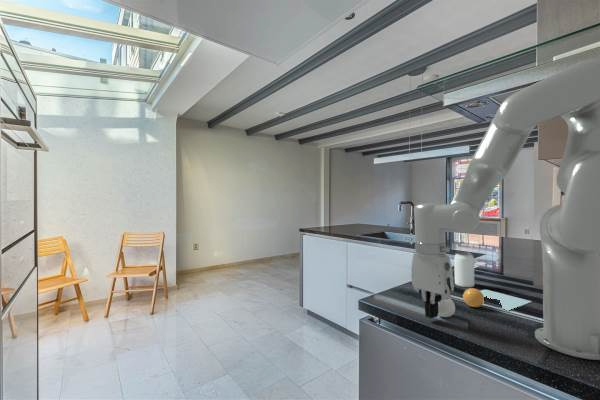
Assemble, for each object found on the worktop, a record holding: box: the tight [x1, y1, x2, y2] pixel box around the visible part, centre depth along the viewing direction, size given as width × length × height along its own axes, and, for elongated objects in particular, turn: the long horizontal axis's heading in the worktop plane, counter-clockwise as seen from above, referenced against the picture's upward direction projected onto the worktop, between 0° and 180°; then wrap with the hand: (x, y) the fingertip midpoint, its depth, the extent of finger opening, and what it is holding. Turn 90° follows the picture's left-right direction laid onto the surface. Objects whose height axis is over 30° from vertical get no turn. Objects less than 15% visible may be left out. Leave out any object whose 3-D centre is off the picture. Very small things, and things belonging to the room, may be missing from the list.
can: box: [453, 251, 475, 289], centre depth 108 cm, size 6×6×12 cm
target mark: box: [479, 289, 533, 312], centre depth 92 cm, size 14×14×1 cm
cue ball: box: [438, 298, 456, 318], centre depth 80 cm, size 6×6×6 cm
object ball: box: [462, 287, 484, 308], centre depth 87 cm, size 6×6×6 cm
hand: (431, 316), depth 77 cm, fingers closed
